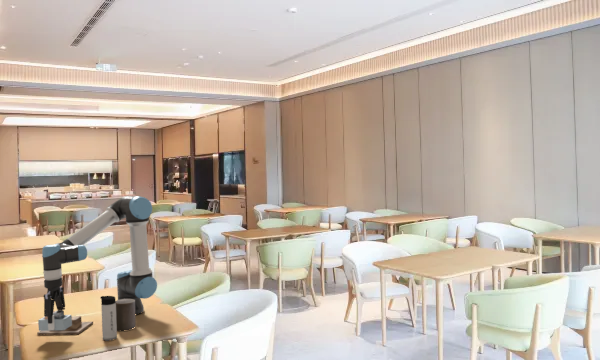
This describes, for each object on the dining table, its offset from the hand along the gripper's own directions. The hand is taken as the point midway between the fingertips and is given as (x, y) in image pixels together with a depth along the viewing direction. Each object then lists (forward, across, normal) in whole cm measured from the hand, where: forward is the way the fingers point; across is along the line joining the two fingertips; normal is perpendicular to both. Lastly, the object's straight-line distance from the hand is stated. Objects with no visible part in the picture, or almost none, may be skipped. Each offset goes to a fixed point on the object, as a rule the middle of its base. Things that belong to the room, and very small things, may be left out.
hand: (56, 326), depth 229 cm
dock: (+7, -16, -3) cm, 17 cm away
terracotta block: (-4, 0, -2) cm, 4 cm away
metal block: (-3, 0, +1) cm, 4 cm away
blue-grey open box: (0, 0, 0) cm, 1 cm away
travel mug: (+7, 0, +25) cm, 26 cm away
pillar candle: (+7, -16, +27) cm, 32 cm away
